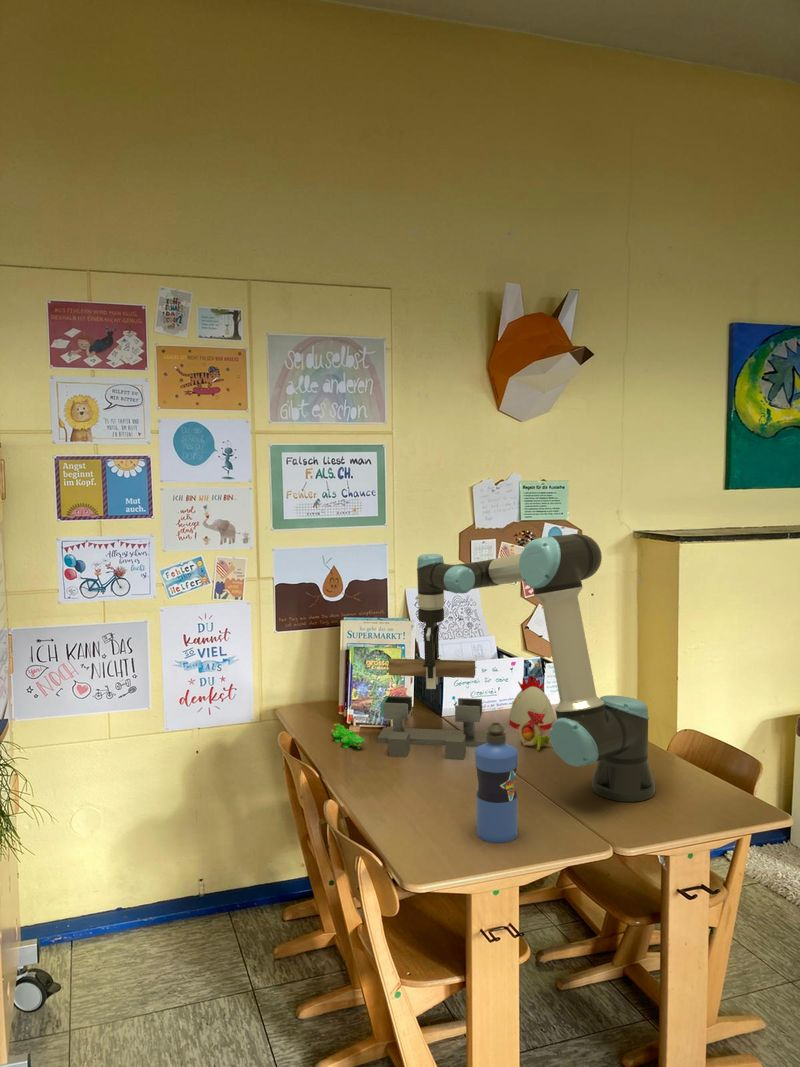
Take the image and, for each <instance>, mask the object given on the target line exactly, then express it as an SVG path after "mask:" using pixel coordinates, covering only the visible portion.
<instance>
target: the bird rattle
mask: <svg viewBox="0 0 800 1067" xmlns="http://www.w3.org/2000/svg"><path fill="white" fill-rule="evenodd" d="M527 713H528V715H529V717H530V719H531V720H525V721H524V722H522V723H521V725H520V726H519V729H518V735H519V739H520V740H521V742H522V746H523V747H526V746H531V747H532V746H536V751H537V752H539V751H540V750H541V747H543V745H544V744H545V745H548V746H549V745H550V735H542V731H541V729H540V727H539V725H538V723H539V724H543V723H544V722H543V718H544V717H545V714H538V713H537V712H535V713H534V712H533V711H532V712H531V711H528V712H527ZM526 726H527V727H526ZM534 730H535V731H534Z"/></svg>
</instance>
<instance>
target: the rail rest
mask: <svg viewBox="0 0 800 1067" xmlns="http://www.w3.org/2000/svg"><path fill="white" fill-rule="evenodd" d="M387 746H388V757H400V758H401V757H402V758H407V756H408V754H409V753H410V750H411V744H410V732H392V733H391V735H390V737H389V738H388V743H387ZM444 749H445V750H444V751H445V752H444V753H445V754H444V756H445V757H444V758H445V760H460V761H461V760H465V756H466V753H467V746H466V735H461V734H448V735H447V738H446V740H445V745H444Z"/></svg>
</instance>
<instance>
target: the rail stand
mask: <svg viewBox="0 0 800 1067" xmlns="http://www.w3.org/2000/svg"><path fill="white" fill-rule="evenodd" d="M379 704H380V705H379V707H380V711H379V712H380V718H383V719H386V720H392V727H386V726H385V727H382V729H381V730H380V732H379V734H378V735H377V738H376V739H377V743H381V744H382V743H383V744H385V743H387V744H388V738H389V737H390V735H391V733H392V732H410V745H426V746H427V745H430V746H434V745H435V746H445V740H446V738H447V735H448V734H461V735H466V747H472V748H473V747H475V748H477V747H478V746H480V745H483V744H485V743H487V741H486V733H487V732H489V731H488V730H487V731H483V730H482V731H481V730H476V723H481V719H482V716H483V699H482V698H463V697H458V698H457V704H455V706H454V718H455V719H454V720H455V721H454V722H457V723H459V722H460V723H462V725H463V727H462V728H463V730H461V729H459V730H458V729H440V728H439V729H436V728H435V729H434V728H433V729H432V728H412V727H411V728H410V727H407V728H406V727H405V720H406V721H408V720H409V718H410V716H411V714H412V712H413V696H406V695H403V696H402V695H401V696H399V695H385V697H384V698H383V699H382V700H381V701H380V703H379Z"/></svg>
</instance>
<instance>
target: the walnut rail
mask: <svg viewBox="0 0 800 1067" xmlns="http://www.w3.org/2000/svg"><path fill="white" fill-rule="evenodd" d="M423 665H425V658H424V659H423V658H421V659H420V658H418V659H417V658H414V659H413V658H390V659H389V661H388V676H396V677H397V676H399V677H403V676H404V677H426V667H423ZM435 666H436V677H438V678H463V679H468V678H469V679H475V677H476V660H458V659H457V660H456V659H440V660H435Z"/></svg>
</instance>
